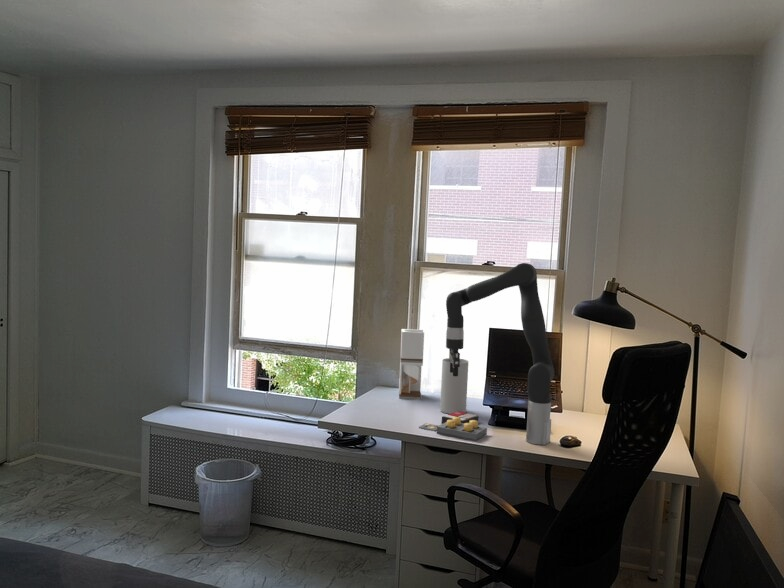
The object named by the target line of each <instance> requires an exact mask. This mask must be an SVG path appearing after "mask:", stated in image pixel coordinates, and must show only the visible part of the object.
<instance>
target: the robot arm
mask: <svg viewBox="0 0 784 588" xmlns="http://www.w3.org/2000/svg"><path fill="white" fill-rule="evenodd" d="M513 287H518V288H519V293H520V294H519V295H520V300H521V304H520V305H521V306H520V317H521V318H520V319H521V324H522V325H521V326H522V330H523V334H524V337H525V339H526V343H527V344H528V346H529V348H530V351H531V355H532V356H531V357H532V362H533V363H532V364H533V365H532V366H530V368H529V370H528V373H527V396H528V401H527V417H526V420H527V421H526V435H525V437H526V438H525V441H526V442H528V443H529V444H532V445H533V444H534V445H543V446H546V445H548V444H550V443H551V433H552V419H551V411H552V410H551V409H552V395H551V393H550V390H551V388H550V386H551V382H552V381H553V379H554V378H555V368H554V365H553V361H552V357H551V354H550V348H549V343H548V342H549V341H548V336H547V329H546V328H547V327H546V323H545V322H546V321H545V316H544V313H543V307H542V304H541V300H540V297H539V290H538V289H539V288H538V273H537V270H536V268H535V267H534V265H532V264H531V263H526V262H521V263H519V264H516V265H515V266H514V267H512V268H511V269H509V270H507V271H505V272H503V273H501V274H499V275H497V276H494V277H491V278H488V279H484V280H482V281H480V282H477V283H474V284H471V285H469V286H468V287H466V288H462V289H460V290H457V291H453V292H450V293H449V294H448V295H447V297H446V300H445V306H446V314H447V322H446V323H447V324H446V325H447V326H446V333H445V338H446V339H445V348H446V349H449V350H448V351H449V353H448V356H449V357H448V358H449V363H450V372H451V373H453V376H458V368H459V367H460V359H461V358H460V357H461V353H460V352H459V350H463V349H464V339H465V337H464V335H465V333H464V315H463V311H462V310H463V308H462V307H464V306H466V305H469V304H471V303H473V302H477V301H479V300H480V301H481V300H482V299H485V298H488V297H490V296H492V295H494V294H496V293H499V292H501V291H503V290H506V289H509V288H513ZM455 363H457V364H455Z"/></svg>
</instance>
